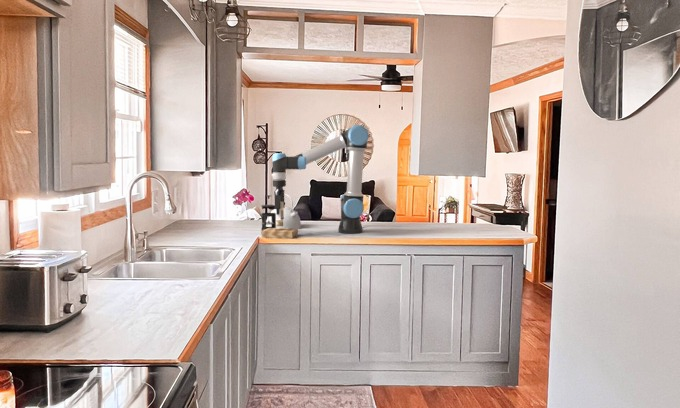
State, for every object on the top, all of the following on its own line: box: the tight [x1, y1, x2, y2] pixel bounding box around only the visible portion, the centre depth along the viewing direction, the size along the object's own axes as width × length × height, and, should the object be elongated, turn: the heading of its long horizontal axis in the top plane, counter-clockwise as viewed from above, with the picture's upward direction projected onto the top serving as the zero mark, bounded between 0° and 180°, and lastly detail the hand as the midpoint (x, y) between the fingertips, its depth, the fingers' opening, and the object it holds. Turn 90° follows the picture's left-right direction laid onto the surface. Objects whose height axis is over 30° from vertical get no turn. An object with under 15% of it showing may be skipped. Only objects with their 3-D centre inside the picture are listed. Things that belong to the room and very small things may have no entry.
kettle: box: [266, 193, 302, 230], centre depth 364 cm, size 25×23×22 cm
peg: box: [275, 202, 284, 226], centre depth 326 cm, size 5×5×14 cm
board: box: [261, 228, 299, 240], centre depth 327 cm, size 18×14×4 cm
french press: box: [260, 194, 276, 235], centre depth 339 cm, size 12×9×23 cm
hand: (279, 219), depth 327 cm, fingers closed on peg, 5 cm apart
